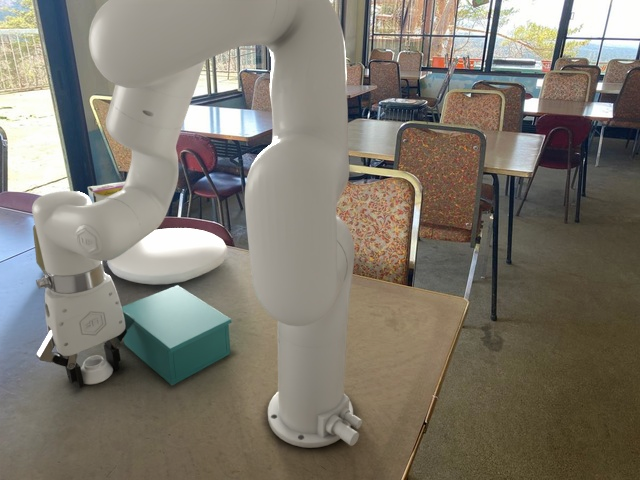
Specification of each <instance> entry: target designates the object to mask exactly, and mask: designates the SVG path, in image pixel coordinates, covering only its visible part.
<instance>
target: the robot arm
mask: <svg viewBox="0 0 640 480" xmlns="http://www.w3.org/2000/svg"><path fill="white" fill-rule="evenodd" d="M254 46H263V47H265V48H266V49H267V50H268V51H269V54H270V57H271V70H270V71H271V72H270V83H269V96H270V97H269V98H270V104H271V105H270V106H271V118H272V119H271V120H272V121H271V122H272V124H271V125H272V138H271V144H269V145H268V146H267V147H265V148H264V149H263V150H261V152H260V153H259V154H258V155H257V156H256V157H255V159H254V160H253V162H252V164H251V165H250V168H249V169H248V174H247V176H246V182H245V187H244V211H245V222H246V223H245V224H246V233H247V244H248V252H249V253H248V255H249V265H250V266H249V267H250V273H251V276H250V277H251V281H252V286H253V290H254V293H255V296H256V299H257V300H258V303H259V304H260V305H261V307H262V308H263V310H264V311H265V312H266V313H267V314H268V315H269V316H270V317H271V318H272V319H273V320H275V321H276V322H277V392H276V393H275V394H274V395H273V396H272V398H271V400H269V403H268V407H267V422H268V425H269V427H270V428H271V430H272V432H273V433H274V434H275V435H276V436H277V437H278V438H279V439H280V440H282V441H284V442H286V443H288V444H290V445H292V446H297V447H299V448H310V449H312V448H322V447H325V446H326V447H327V446H329V445H332V444H334V443H337V441H339V440H342V441H344V443H346V444H348V445H349V446H350V447H353V446H354V445H355V444H356V443H357V442H358V440H359V438H360V432H358V431H357V430H359V429H360V428H361V426H362V425H363V420H362V419H361V418H359V417H358V416H356V415H355V414H354V407H353V405H352V404H353V403H352V402H351V400H350V397H349V396H348V395H347V394H346V393H345V382H346V381H345V380H346V378H345V377H346V365H347V364H346V363H347V348H348V347H347V345H348V332H349V317H350V316H349V315H350V302H351V293H352V292H351V291H352V284H353V274H354V268H355V267H354V266H355V258H356V257H355V253H356V252H355V242H354V238H353V237H354V236H353V234H352V232H351V230H350V228H349V226H348V224H346V222H345V221H344V220H342V218H341V217H339V216H338V215H337V214H338V212H337V211H338V203H339V201H340V199H341V197H342V196H343V194H344V192H345V190H346V187H347V185H348V183H349V179H350V171H351V170H350V156H349V155H350V154H349V116H348V115H349V113H348V108H349V107H348V93H347V92H348V91H347V90H348V89H347V88H348V87H347V86H348V85H347V57H346V56H347V55H346V45H345V37H344V33H343V28H342V24H341V22H340V19H339V16H338V14H337V11H336V9H335V8H334V5H333V4H332V2H331V0H107V1H106V2H104V3H103V4H102V5H101V6H100V7H99V9H98V10H97V11H96V13H95V14H94V16H93V18H92V20H91V24H90V26H89V32H88V48H89V49H88V50H89V52H90V56H91V59H92V61H93V63H94V65H95V67H96V68H97V71H99V73H100V74H101V75H102V76H103V77H104V78H105V79H106V80H107V81H109V82H110V83H112V84H114V88H113V92H112V96H111V100H110V103H109V107H108V111H107V114H106V117H105V129H106V131H107V133H108V135H109V136H110V138H112V139H113V140H114V141H115V142H116V143H118V144H119V145H121V146H122V147H124V148H126V149H128V150H130V151H131V159H130V164H129V168H128V172H127V175H126V178H125V180H124V182H125V184H124V187H123V189H122V190H121V191H118V192H116V193H114V194H112V195H110V196H108V197H106V198H104V199H102V200H100V201H98V202H95V203H92V202H91V200H90V198H89V195H87V194H85V193H83V192H80V191H74V190H63V191H54V192H50V193H47V194H43V195H41V196H39V197H38V198H36V199H35V200H34V202H33V203H32V206H31V213H32V219H33V223H34V225H35V227H36V231H37V236H38V240H39V245H40V249H41V253H42V258H43V262H44V266H45V270H44V273H43V277H41V278H39V279H36V280H35V283H36V286H37V288H38V289H39V290H42V289H44V288H45V291H44V315H45V324H46V330H47V335H46V337H45V338H44V340H43V342H42V343H41V346H40V347H39V349H38V350H37V352H36V355H35V356H36V357H37V358H38V360H39V361H41V362H46V363H54V364H55V365H58V366H62V367H65V371H66V376H67V379H68V381H69V382H70V383H71V384H73V383H74V384H75V385H76V386H77V387H78V388H79V389H82V388H83V387H84V386H85V384H84V382H83V377H82V372H81V368H82V367H81V366H80V364H78V363H77V361H78V360H77V358H78V354H79V353H82V352H85V351H88V350H89V349H91V348H94V347H97V346H99V345H101V344H103V343H104V345H103V348H104V353H105V360H107V361H108V362H109V363H110V364H111V365H112V368H113V371H119V370H120V369H121V368H120V361H121V360H122V359H121V354H120V353H121V352H120V348H121V347H122V341H123V340H124V336H125V335H126V333H127V330H128V329H129V328H130V327H131V325H132V324H133V323H134V320H135V319H134V318H133V317H132V316H131V315H129V314H127V313H125V312H124V311H122V307H123V306H122V304H121V300H120V297H119V294H118V291H117V288H116V286H115V283H114V281H113V280H114V279H112V276H110V275H109V274H108V273H105V268H104V263H103V262H107V261H108V260H112V259H114V258H117V257H118V256H120V255H121V254H123V253H124V252H126V251H127V250H129V249H130V248H131V247H133V246H134V245H135V244H137V243H138V242H139V241H141V240H142V239H144V238H145V237H147V236H148V235H150V234H151V233H152V232H154V231H155V230H158V228H159V227H160V226H161V225H162V223H163V222H164V220H165V219H166V216H167V213H168V211H169V208H170V206H171V203H172V201H173V198H174V195H175V193H176V189H177V186H178V182H179V173H180V170H179V155H178V152H177V151H178V150H177V144H178V141H179V138H180V135H181V131H182V129H183V126H184V122H185V120H186V116H187V114H188V111H189V108H190V106H191V102H192V99H193V96H194V94H195V91H196V89H197V85H198V82H199V80H200V76H201V74H202V71H203V69H204V65H205V63H206V61H208V60H210V59H211V58H215V57H216V56H219V55H221V54H224V53H226V52H228V51H231V50H233V49H237V48H240V47H254ZM54 348H56V350H57V351H53V350H54ZM352 427H353V428H354V429H353V428H352ZM355 429H356V430H355Z"/></svg>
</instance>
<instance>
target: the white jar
mask: <svg viewBox="0 0 640 480" xmlns="http://www.w3.org/2000/svg"><path fill="white" fill-rule="evenodd" d="M80 368H81V372H82V377H83V382H84V385H97V384H99V383H102V382H104V381H106V380H107V379H109V378H110V377H111V376H112V375H113V372H114V369H113V368H112V365H111V364H110V363H109V362H108V361H107V360H106V358H104V356H102V355H97V354H95V355H91V356H89V357H87V358H86V359H84V361H83V362H82V365H81V367H80Z"/></svg>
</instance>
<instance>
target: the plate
mask: <svg viewBox="0 0 640 480" xmlns="http://www.w3.org/2000/svg"><path fill="white" fill-rule="evenodd" d="M227 255H228V247H227V244H226V243H225V241H224V240H223V239H222V238H221V237H219V236H218V235H215V234H214V233H212V232H208V231H205V230H201V229H197V228H196V229H195V228H187V227H184V228H182V227H180V228H179V227H177V228H176V227H174V228H173V227H172V228H162V229H161V228H160V229H156V230H155V231H154V232H152V233H151V234H150V235H148V236H147V237H145V238H144V239H142V240H141V241H139V242H138V243H137V244H135V245H134V246H133V247H131V248H130V249H129V250H127V251H126V252H124V253H123V254H121V255H120V256H118V257H117V258H114V259H112V260H108V261H106V262H107V263H106V264H107V266H108V268H109V270H110V271H111V272H112V274H113V275H114V276H117V277H118V278H120V279H123V280H126V281H129V282H133V283H136V284H137V283H138V284H144V285H155V286H156V285H170V284H177V283H178V284H179V283H184V282H187V281H189V280H193V279H194V278H197V277H200V276H202V275H205V274H207V273H209V272H211V271H213V270H215V269H216V268H218V267H219V266H221V265H222V264H223V263H224V262H225V260H226V258H227Z"/></svg>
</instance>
